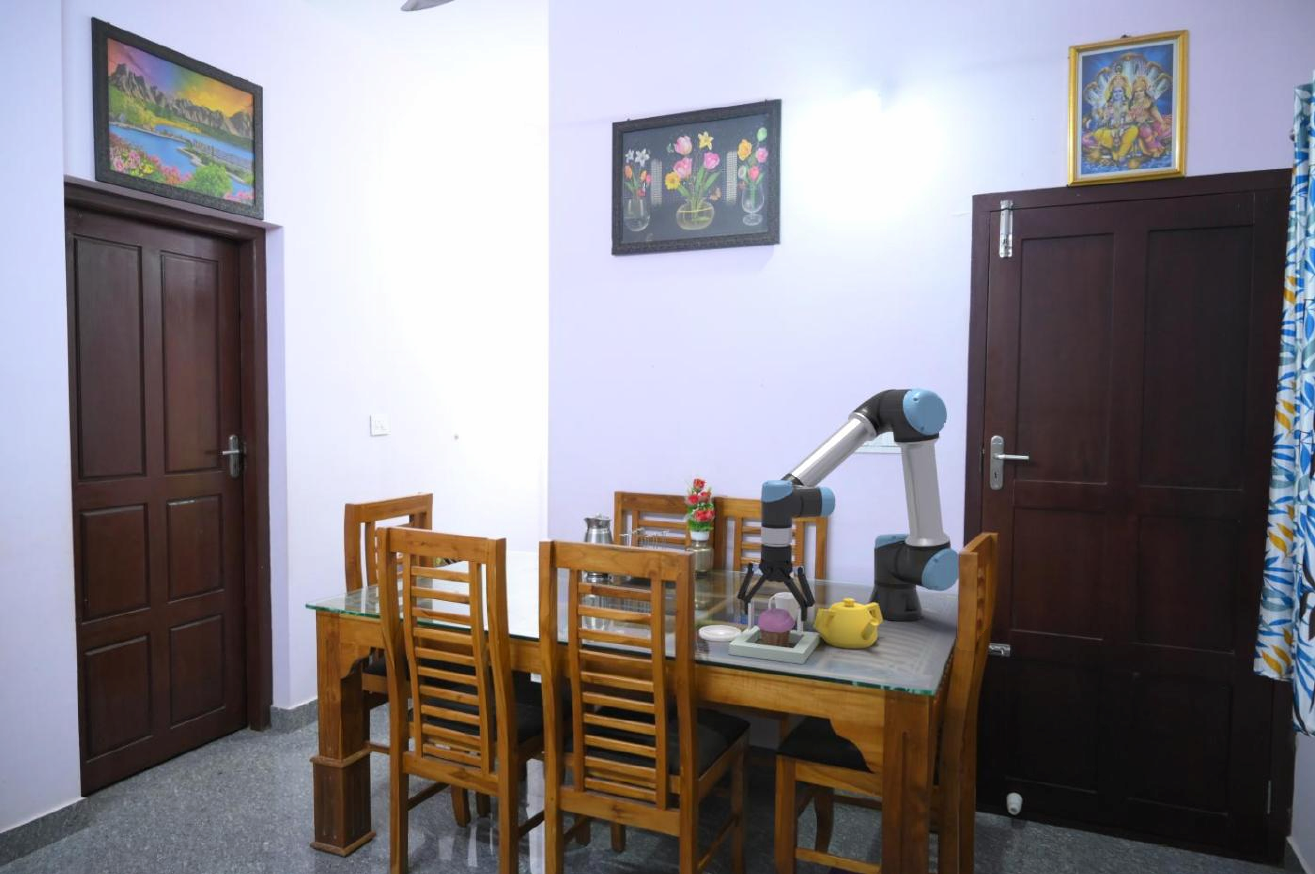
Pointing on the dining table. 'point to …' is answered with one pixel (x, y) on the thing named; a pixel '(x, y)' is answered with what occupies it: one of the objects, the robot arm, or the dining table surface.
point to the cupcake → (775, 627)
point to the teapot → (849, 624)
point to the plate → (719, 633)
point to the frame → (798, 654)
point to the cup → (786, 603)
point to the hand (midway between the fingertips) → (775, 631)
